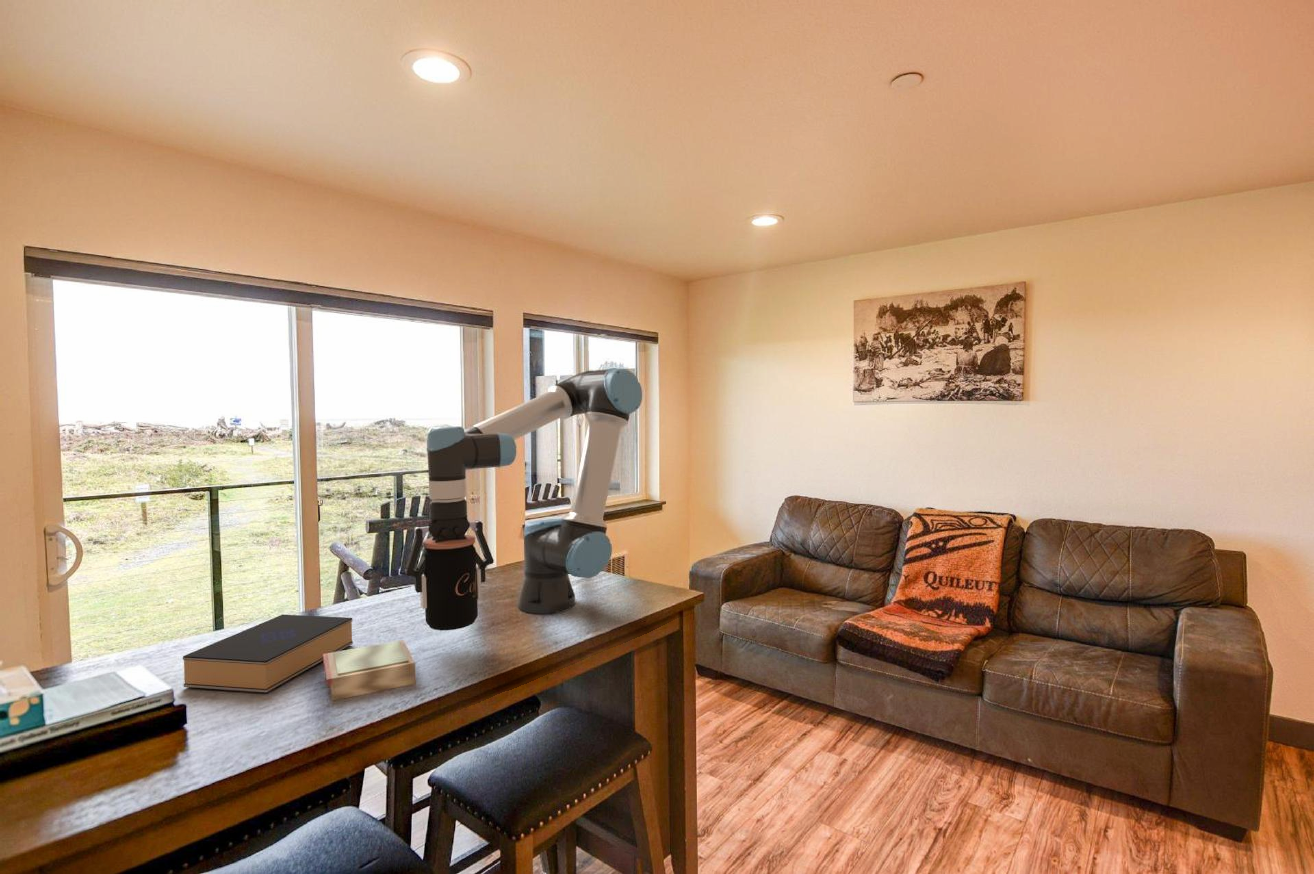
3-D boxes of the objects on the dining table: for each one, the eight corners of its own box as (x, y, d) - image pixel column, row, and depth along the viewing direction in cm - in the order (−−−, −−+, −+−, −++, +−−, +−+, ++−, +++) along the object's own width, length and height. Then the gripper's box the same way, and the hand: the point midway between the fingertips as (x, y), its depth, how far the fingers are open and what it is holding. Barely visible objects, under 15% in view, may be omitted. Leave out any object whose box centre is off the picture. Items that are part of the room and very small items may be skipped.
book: (183, 691, 116) (182, 656, 116) (282, 643, 141) (282, 614, 140) (266, 697, 113) (265, 661, 113) (353, 647, 138) (352, 617, 138)
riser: (403, 659, 130) (403, 638, 130) (415, 683, 118) (415, 661, 118) (323, 674, 123) (322, 652, 122) (327, 701, 110) (326, 677, 110)
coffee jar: (462, 633, 127) (459, 545, 126) (415, 630, 129) (412, 544, 128) (487, 615, 137) (484, 534, 136) (443, 613, 139) (440, 533, 139)
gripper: (496, 492, 141) (499, 589, 142) (386, 502, 129) (390, 607, 130) (506, 496, 135) (510, 597, 136) (391, 507, 123) (396, 617, 124)
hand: (451, 602), depth 133 cm, fingers closed on coffee jar, 11 cm apart
